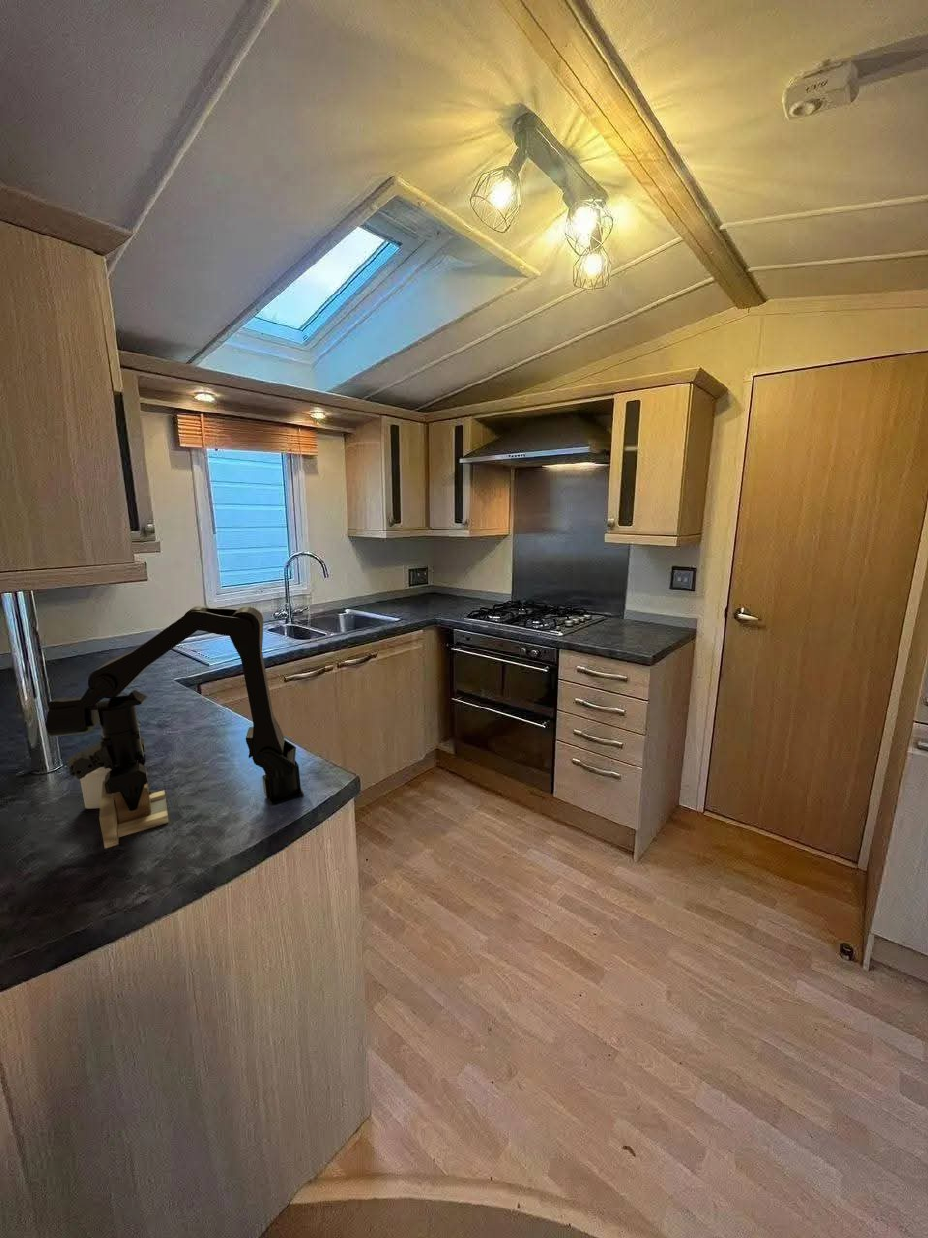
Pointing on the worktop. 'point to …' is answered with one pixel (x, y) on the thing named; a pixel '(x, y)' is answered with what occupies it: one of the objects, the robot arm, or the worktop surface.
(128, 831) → the cleat board
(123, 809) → the cabinet block
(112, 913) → the worktop surface
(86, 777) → the medicine bottle
